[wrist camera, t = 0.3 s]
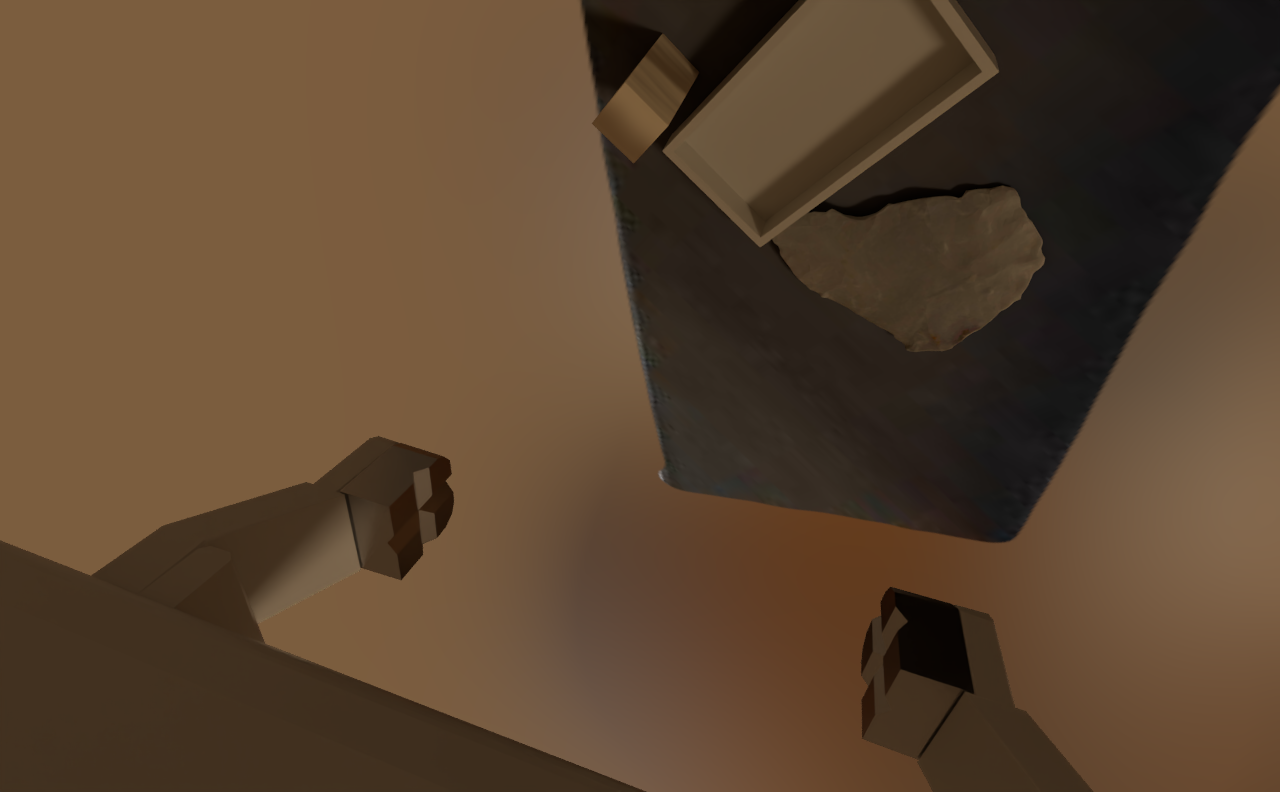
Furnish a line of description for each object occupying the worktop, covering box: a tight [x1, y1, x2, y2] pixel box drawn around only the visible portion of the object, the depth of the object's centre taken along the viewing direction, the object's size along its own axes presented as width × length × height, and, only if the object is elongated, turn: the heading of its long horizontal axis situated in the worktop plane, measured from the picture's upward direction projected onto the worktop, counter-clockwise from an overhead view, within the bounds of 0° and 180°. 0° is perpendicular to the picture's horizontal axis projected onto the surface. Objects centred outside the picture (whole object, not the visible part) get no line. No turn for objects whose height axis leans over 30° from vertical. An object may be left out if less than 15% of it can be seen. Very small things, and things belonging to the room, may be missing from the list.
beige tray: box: [663, 0, 999, 247], centre depth 51 cm, size 24×14×4 cm, turn 141°
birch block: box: [592, 33, 699, 163], centre depth 51 cm, size 4×4×11 cm
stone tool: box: [772, 185, 1045, 352], centre depth 60 cm, size 20×3×25 cm
